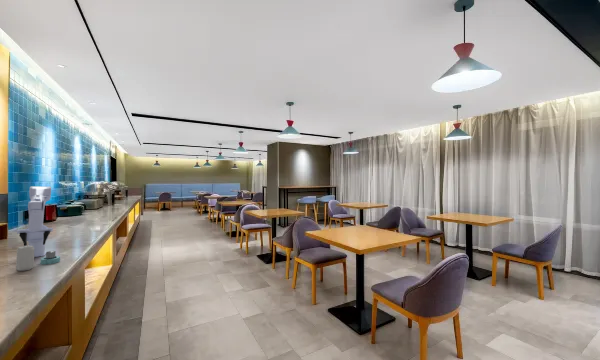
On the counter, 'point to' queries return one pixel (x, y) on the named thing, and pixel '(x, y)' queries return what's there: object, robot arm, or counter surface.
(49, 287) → the counter surface
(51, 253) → the steel peg
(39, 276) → the counter surface
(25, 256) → the beverage can
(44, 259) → the teal bead ring
